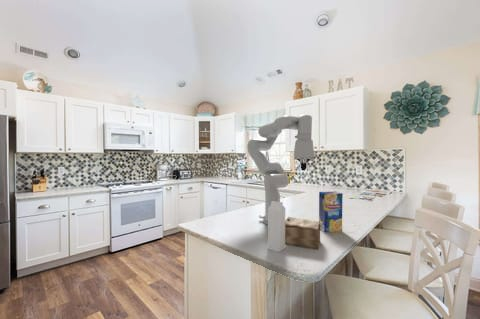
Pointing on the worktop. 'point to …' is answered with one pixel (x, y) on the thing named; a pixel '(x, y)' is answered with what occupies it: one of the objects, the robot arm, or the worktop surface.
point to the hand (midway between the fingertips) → (303, 170)
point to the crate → (302, 237)
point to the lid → (302, 223)
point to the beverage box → (330, 211)
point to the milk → (276, 226)
